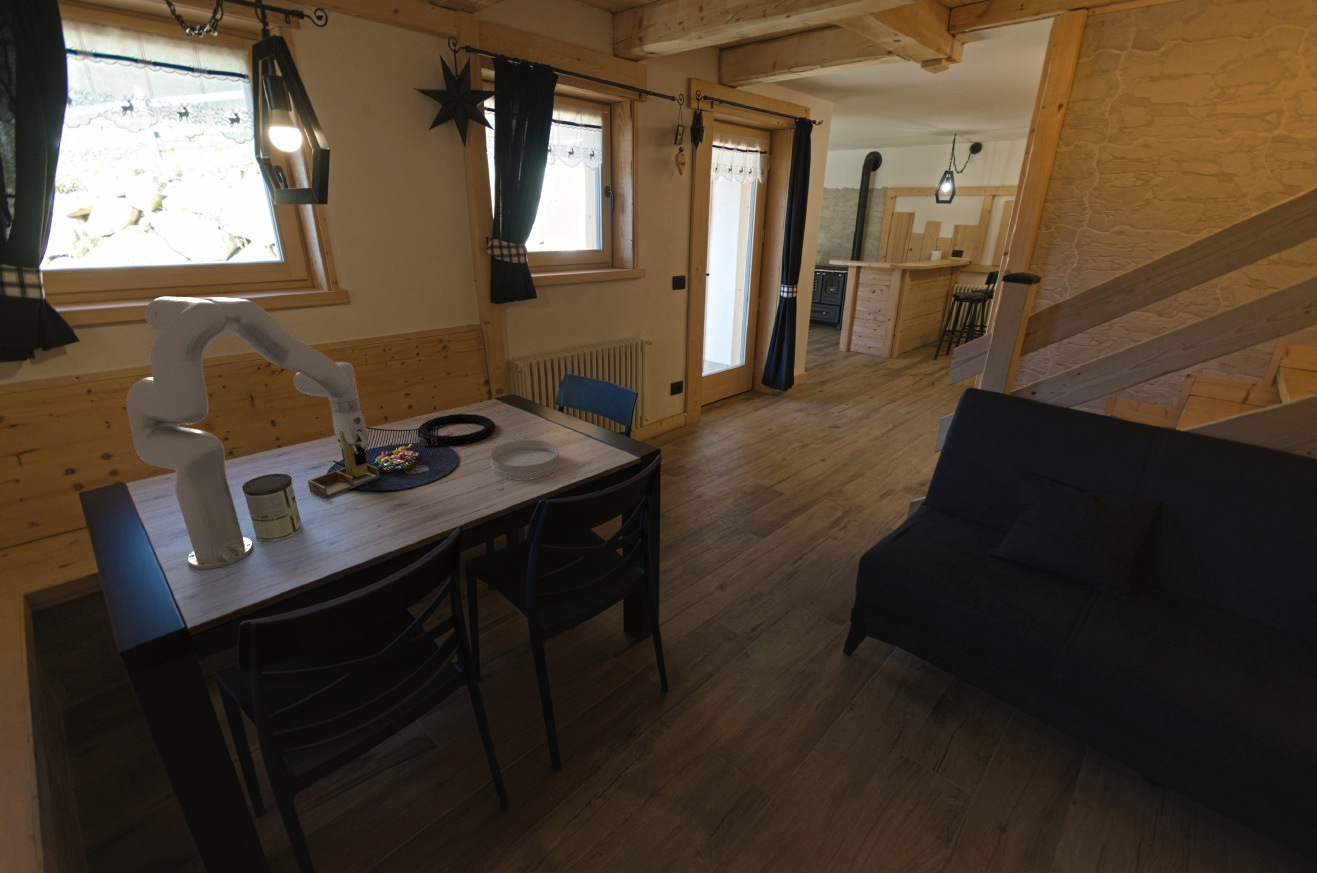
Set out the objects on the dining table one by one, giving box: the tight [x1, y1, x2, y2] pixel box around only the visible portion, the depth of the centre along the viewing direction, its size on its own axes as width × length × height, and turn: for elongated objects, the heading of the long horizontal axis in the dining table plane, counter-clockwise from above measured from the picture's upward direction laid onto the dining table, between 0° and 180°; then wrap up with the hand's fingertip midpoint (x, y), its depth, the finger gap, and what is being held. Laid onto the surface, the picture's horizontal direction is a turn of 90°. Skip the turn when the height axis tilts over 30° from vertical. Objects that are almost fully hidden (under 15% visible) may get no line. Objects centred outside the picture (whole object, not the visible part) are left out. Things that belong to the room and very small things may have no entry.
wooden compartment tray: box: [307, 462, 380, 499], centre depth 173 cm, size 8×17×4 cm, turn 148°
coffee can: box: [242, 473, 303, 543], centre depth 146 cm, size 10×10×14 cm
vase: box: [340, 431, 368, 477], centre depth 173 cm, size 6×6×14 cm
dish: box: [490, 439, 561, 480], centre depth 189 cm, size 22×22×5 cm
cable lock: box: [416, 413, 496, 447], centre depth 215 cm, size 28×4×30 cm
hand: (355, 461), depth 174 cm, fingers closed on vase, 5 cm apart
